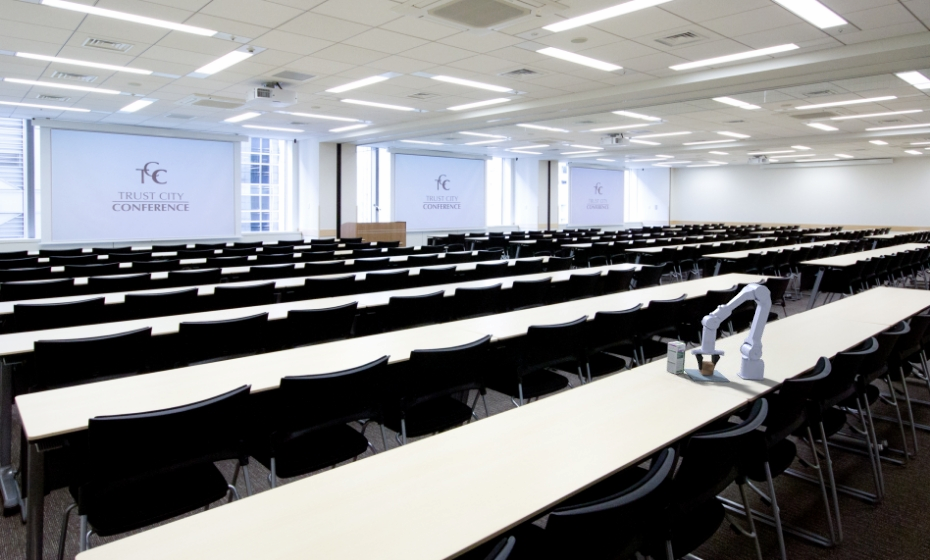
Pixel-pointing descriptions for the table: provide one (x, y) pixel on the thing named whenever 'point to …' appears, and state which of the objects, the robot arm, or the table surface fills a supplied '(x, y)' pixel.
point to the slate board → (706, 376)
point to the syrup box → (676, 357)
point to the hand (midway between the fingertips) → (706, 369)
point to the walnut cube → (707, 368)
